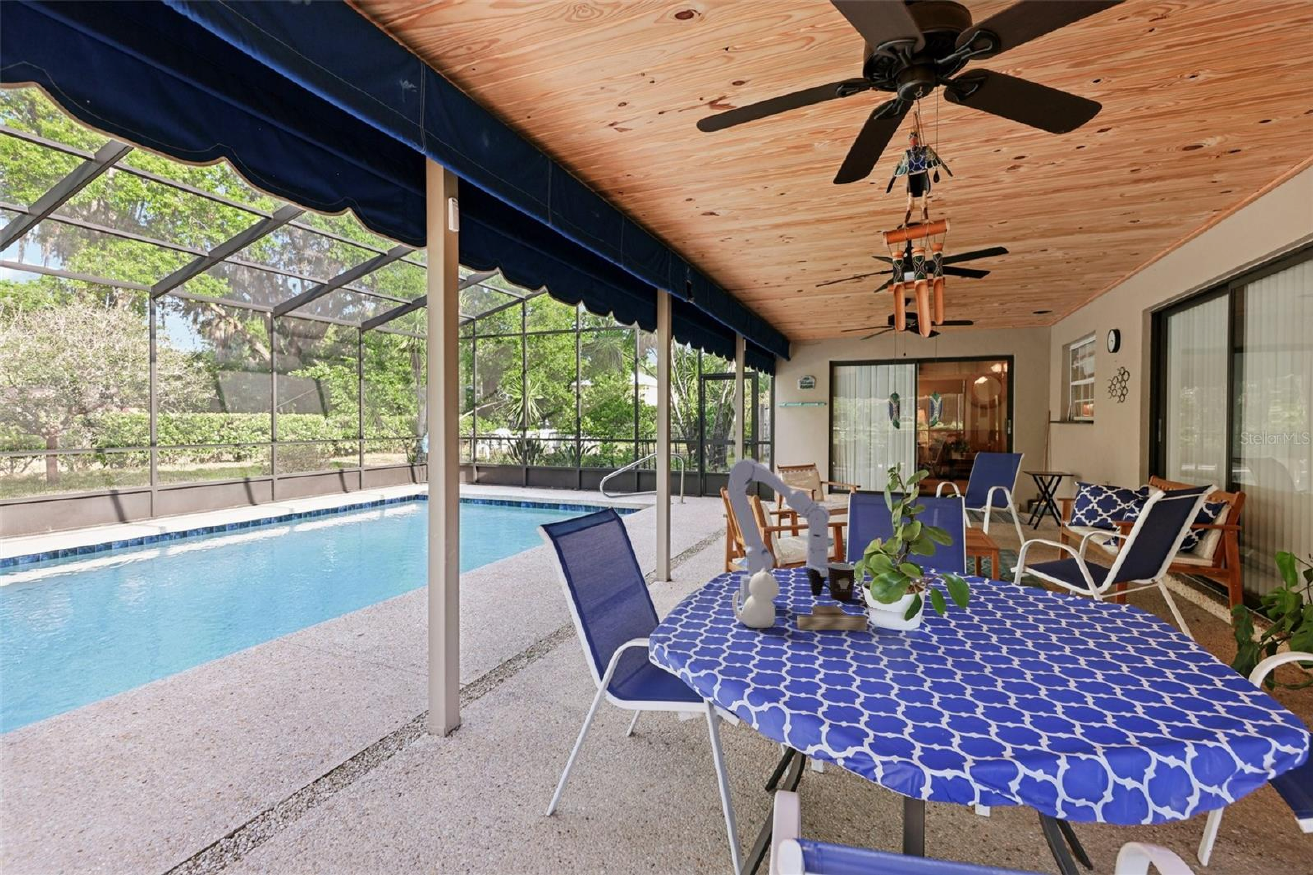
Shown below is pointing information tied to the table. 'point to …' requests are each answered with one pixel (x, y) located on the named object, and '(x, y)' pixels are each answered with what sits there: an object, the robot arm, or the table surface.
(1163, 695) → the table surface
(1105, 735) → the table surface
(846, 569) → the coffee mug
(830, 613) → the walnut block
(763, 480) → the robot arm
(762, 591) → the cat figurine
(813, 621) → the board
